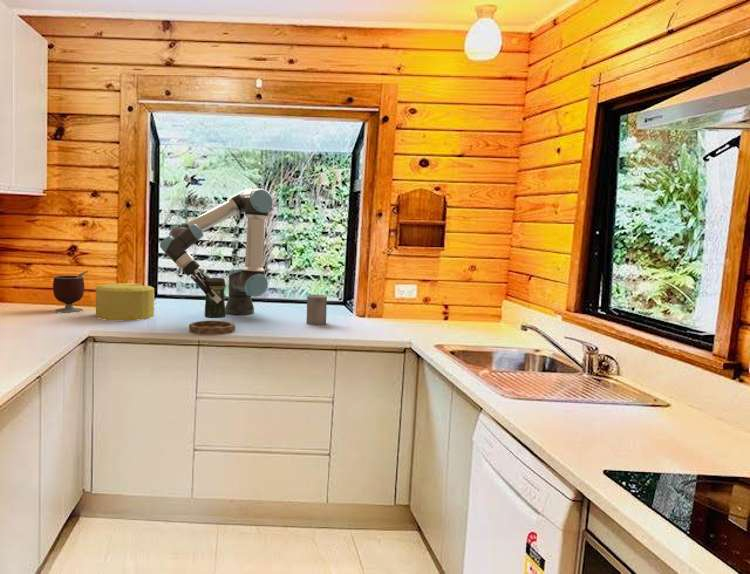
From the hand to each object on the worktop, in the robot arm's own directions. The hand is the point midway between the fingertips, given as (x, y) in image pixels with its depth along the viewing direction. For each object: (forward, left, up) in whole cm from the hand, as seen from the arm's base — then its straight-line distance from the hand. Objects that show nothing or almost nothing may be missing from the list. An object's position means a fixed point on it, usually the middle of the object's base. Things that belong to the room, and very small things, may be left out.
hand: (222, 300), depth 279 cm
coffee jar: (+3, -2, -8) cm, 9 cm away
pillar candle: (-44, +8, -12) cm, 47 cm away
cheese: (+39, -32, -12) cm, 51 cm away
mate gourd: (+62, -54, -12) cm, 83 cm away
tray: (+8, +14, -11) cm, 19 cm away
